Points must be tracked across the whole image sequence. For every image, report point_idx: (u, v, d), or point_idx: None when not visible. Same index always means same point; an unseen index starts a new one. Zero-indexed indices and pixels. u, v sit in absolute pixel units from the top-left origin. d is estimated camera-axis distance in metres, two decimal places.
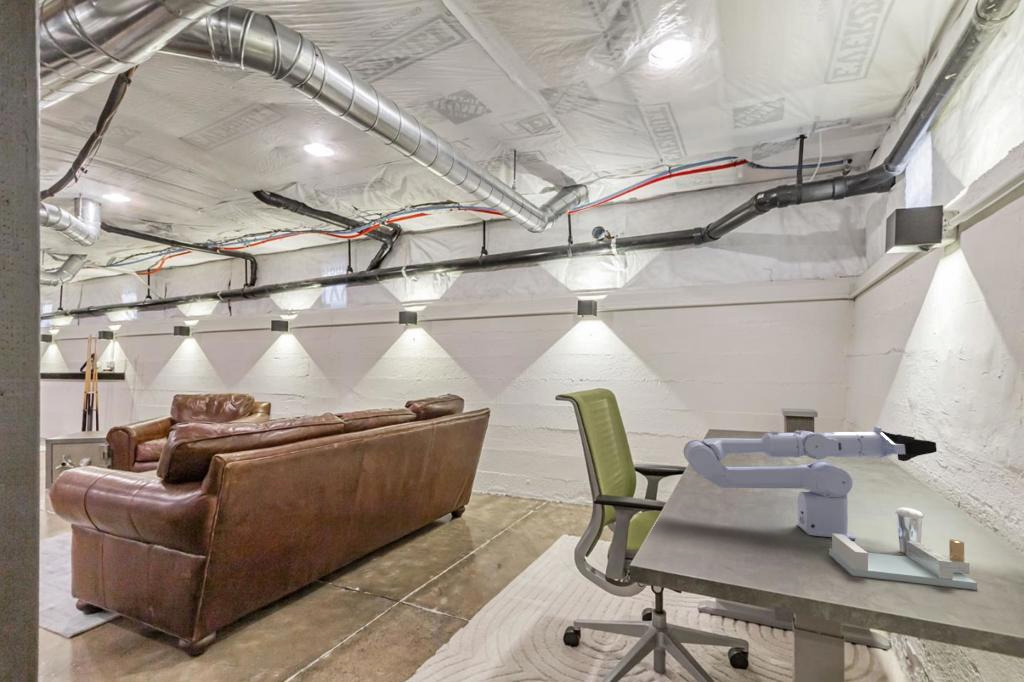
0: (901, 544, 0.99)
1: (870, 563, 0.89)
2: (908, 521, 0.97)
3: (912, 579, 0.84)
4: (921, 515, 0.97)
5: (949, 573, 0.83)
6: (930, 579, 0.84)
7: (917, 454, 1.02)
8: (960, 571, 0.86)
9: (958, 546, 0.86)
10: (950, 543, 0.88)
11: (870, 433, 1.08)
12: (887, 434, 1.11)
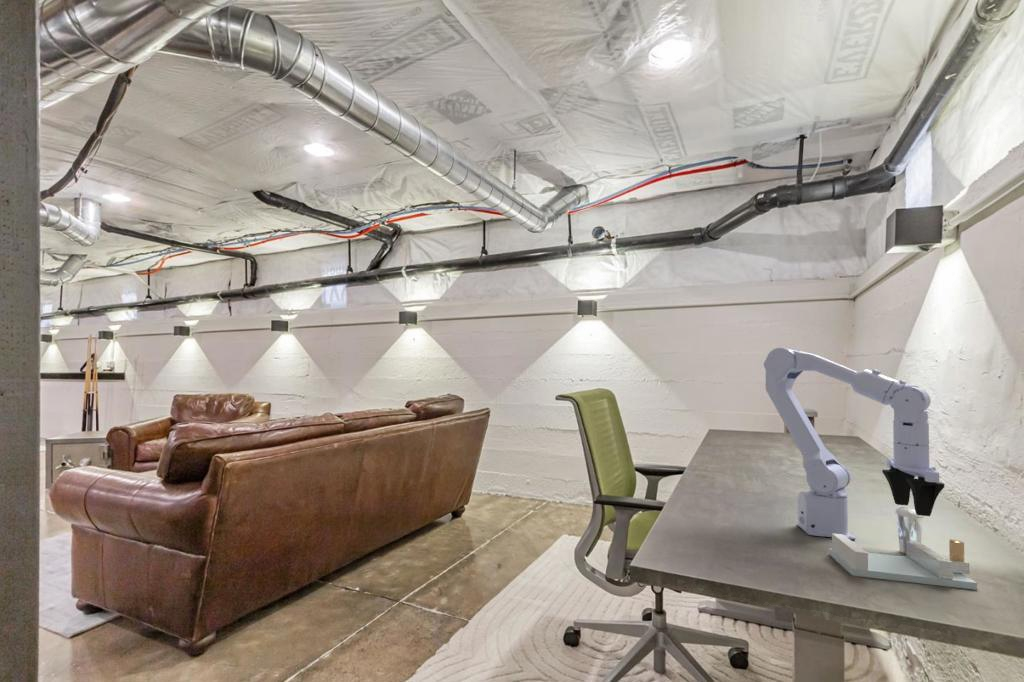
0: (901, 544, 0.99)
1: (870, 563, 0.89)
2: (908, 521, 0.97)
3: (912, 579, 0.84)
4: None
5: (949, 573, 0.83)
6: (930, 579, 0.84)
7: (918, 495, 0.94)
8: (960, 571, 0.86)
9: (958, 546, 0.86)
10: (950, 543, 0.88)
11: None
12: None
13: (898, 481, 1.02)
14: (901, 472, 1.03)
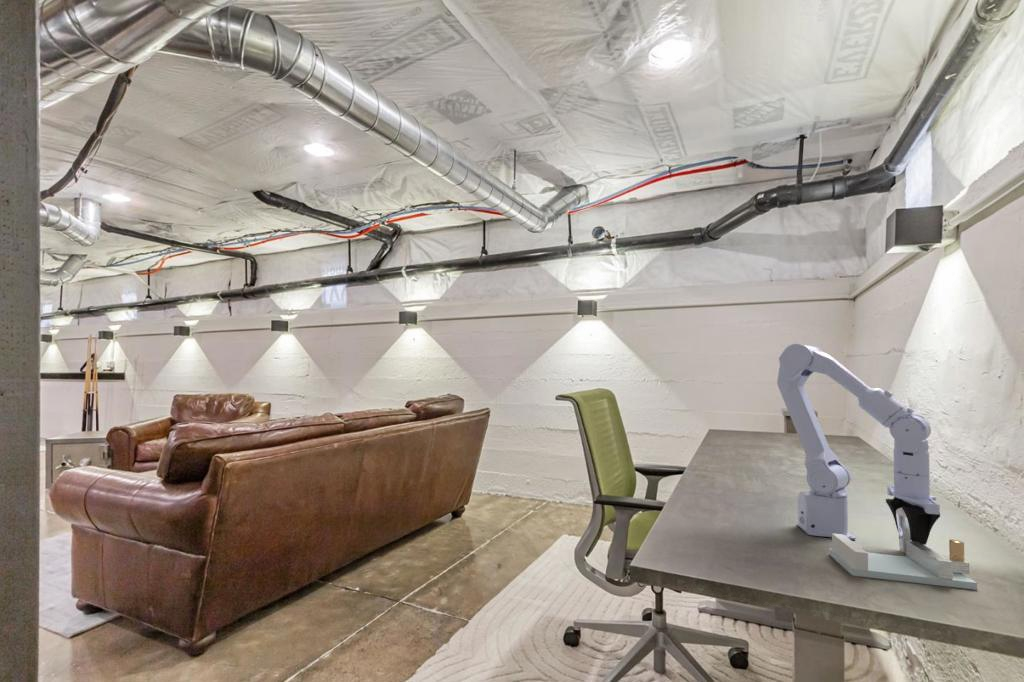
0: (901, 544, 0.99)
1: (870, 563, 0.89)
2: None
3: (912, 579, 0.84)
4: None
5: (949, 573, 0.83)
6: (930, 579, 0.84)
7: (914, 524, 0.95)
8: (960, 571, 0.86)
9: (958, 546, 0.86)
10: (950, 543, 0.88)
11: None
12: None
13: None
14: (905, 502, 1.01)
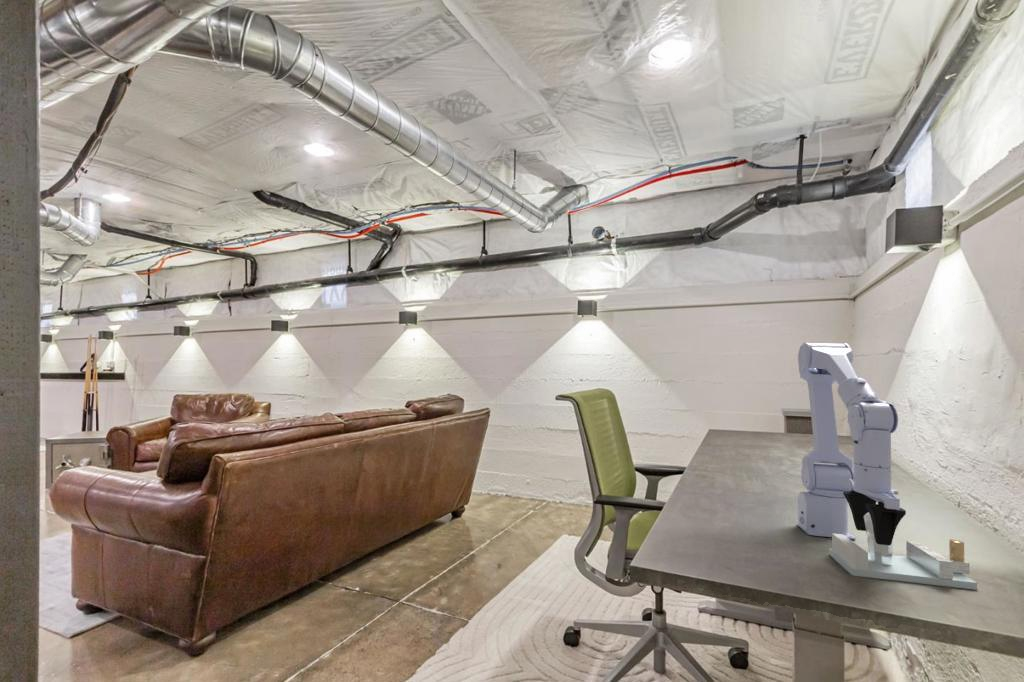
0: (872, 553, 0.90)
1: (870, 563, 0.89)
2: None
3: (912, 579, 0.84)
4: None
5: (949, 573, 0.83)
6: (930, 579, 0.84)
7: (877, 523, 0.86)
8: (960, 571, 0.86)
9: (958, 546, 0.86)
10: (950, 543, 0.88)
11: None
12: (873, 504, 0.94)
13: (859, 505, 0.94)
14: (863, 495, 0.94)
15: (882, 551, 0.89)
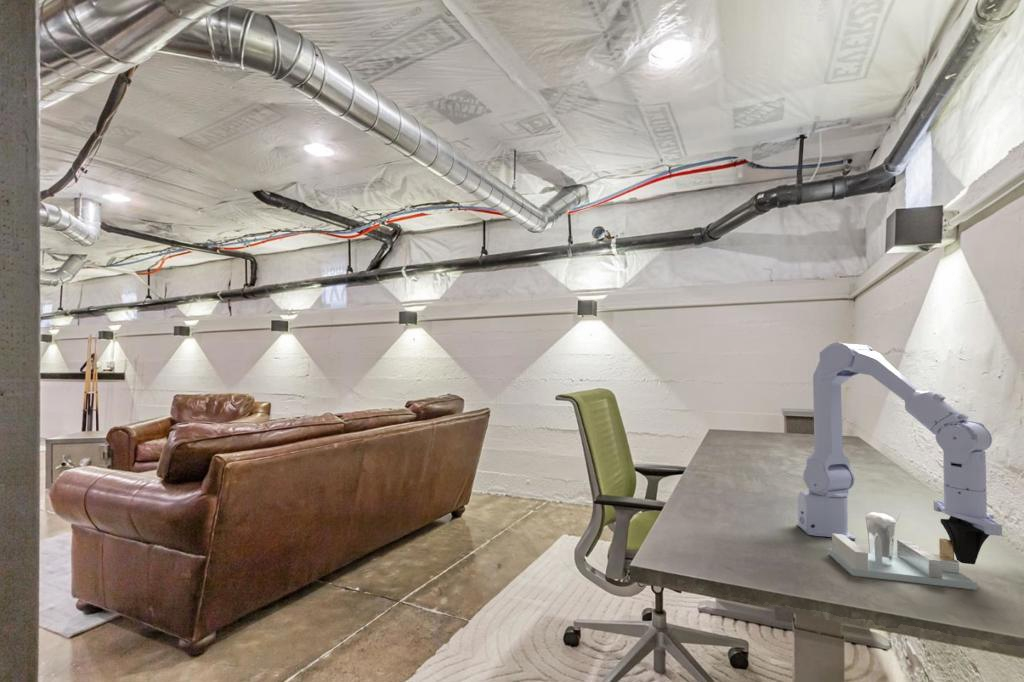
0: (872, 553, 0.90)
1: (870, 563, 0.89)
2: (880, 528, 0.89)
3: (912, 579, 0.84)
4: (893, 521, 0.89)
5: (939, 572, 0.84)
6: (930, 579, 0.84)
7: (962, 542, 0.86)
8: (950, 570, 0.86)
9: (948, 545, 0.87)
10: (940, 542, 0.88)
11: None
12: None
13: None
14: None
15: (883, 551, 0.89)
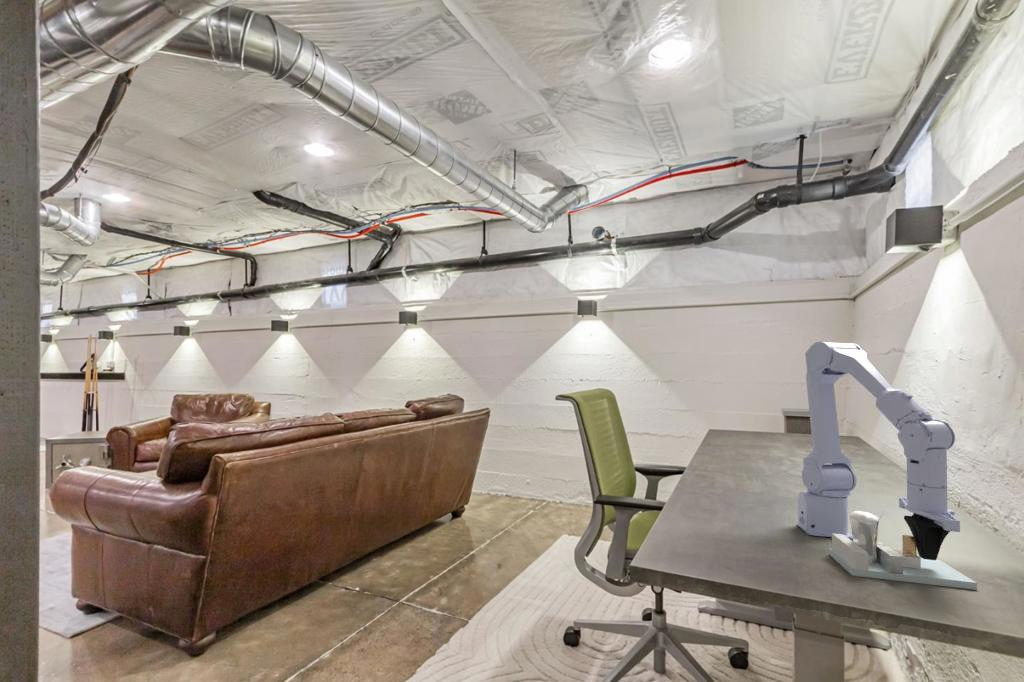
0: None
1: None
2: (864, 526, 0.89)
3: (912, 579, 0.84)
4: (877, 519, 0.89)
5: (900, 567, 0.85)
6: (930, 579, 0.84)
7: (923, 538, 0.87)
8: (912, 566, 0.87)
9: (910, 541, 0.88)
10: (903, 538, 0.89)
11: None
12: None
13: None
14: None
15: (867, 550, 0.89)
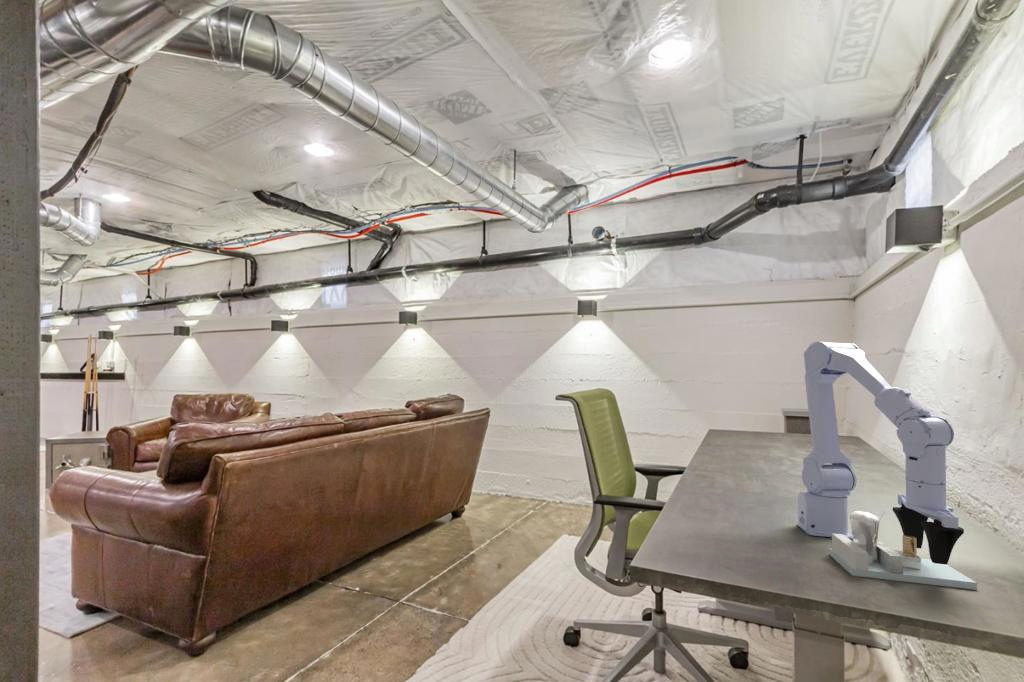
0: None
1: None
2: (864, 526, 0.89)
3: (912, 579, 0.84)
4: (877, 519, 0.89)
5: (900, 567, 0.85)
6: (930, 579, 0.84)
7: (934, 541, 0.84)
8: (912, 566, 0.87)
9: (910, 541, 0.88)
10: (903, 538, 0.89)
11: (945, 499, 0.87)
12: (924, 520, 0.92)
13: (910, 521, 0.92)
14: (914, 511, 0.92)
15: (867, 550, 0.89)
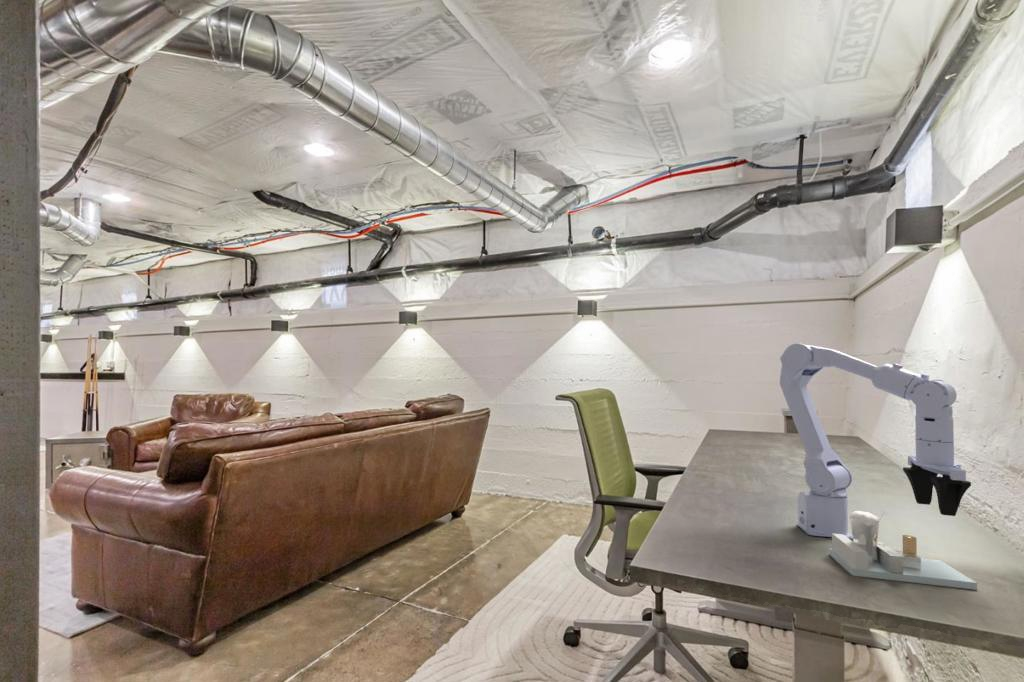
0: None
1: None
2: (864, 526, 0.89)
3: (912, 579, 0.84)
4: (877, 519, 0.89)
5: (900, 567, 0.85)
6: (930, 579, 0.84)
7: (943, 494, 0.90)
8: (912, 566, 0.87)
9: (910, 541, 0.88)
10: (903, 538, 0.89)
11: None
12: None
13: (920, 479, 0.98)
14: (923, 470, 0.98)
15: (867, 550, 0.89)
